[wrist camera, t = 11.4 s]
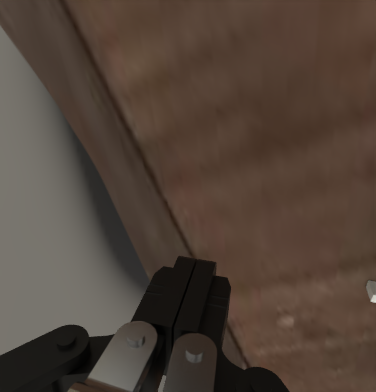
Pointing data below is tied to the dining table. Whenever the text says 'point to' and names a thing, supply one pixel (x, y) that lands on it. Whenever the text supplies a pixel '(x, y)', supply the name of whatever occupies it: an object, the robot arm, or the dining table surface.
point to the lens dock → (371, 290)
